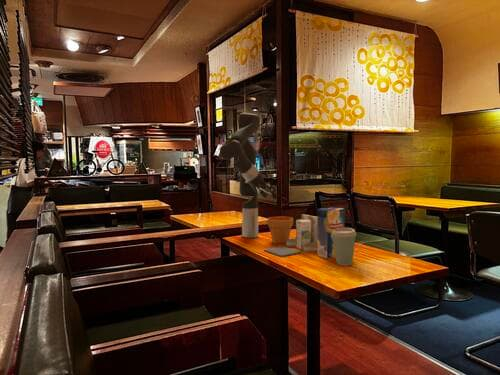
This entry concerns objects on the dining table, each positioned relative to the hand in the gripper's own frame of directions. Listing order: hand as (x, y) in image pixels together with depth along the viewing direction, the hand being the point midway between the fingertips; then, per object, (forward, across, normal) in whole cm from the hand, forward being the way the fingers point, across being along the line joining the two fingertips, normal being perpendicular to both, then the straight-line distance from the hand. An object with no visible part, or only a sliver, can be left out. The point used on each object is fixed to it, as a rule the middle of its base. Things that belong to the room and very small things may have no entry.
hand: (271, 197), depth 176 cm
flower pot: (+31, +13, +7) cm, 34 cm away
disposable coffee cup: (+27, -37, +12) cm, 47 cm away
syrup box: (+30, -6, +8) cm, 32 cm away
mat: (+20, -6, +17) cm, 27 cm away
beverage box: (+31, -24, +7) cm, 40 cm away
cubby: (+30, -6, +7) cm, 32 cm away
